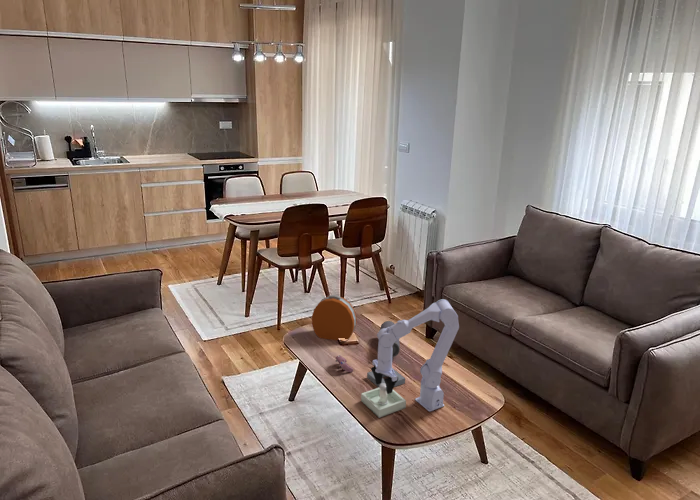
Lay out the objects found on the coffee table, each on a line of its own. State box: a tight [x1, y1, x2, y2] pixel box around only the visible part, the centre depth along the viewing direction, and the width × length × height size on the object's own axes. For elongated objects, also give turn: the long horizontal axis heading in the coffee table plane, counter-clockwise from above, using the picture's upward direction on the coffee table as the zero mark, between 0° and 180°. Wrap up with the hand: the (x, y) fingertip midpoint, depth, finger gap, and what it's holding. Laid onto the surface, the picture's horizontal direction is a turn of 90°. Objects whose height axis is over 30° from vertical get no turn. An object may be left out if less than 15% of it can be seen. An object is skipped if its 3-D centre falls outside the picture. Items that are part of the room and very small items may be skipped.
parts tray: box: [360, 387, 407, 419], centre depth 203 cm, size 13×13×4 cm
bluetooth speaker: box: [379, 320, 401, 358], centre depth 246 cm, size 23×9×10 cm, turn 179°
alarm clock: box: [311, 294, 358, 341], centre depth 257 cm, size 22×10×23 cm, turn 74°
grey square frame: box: [366, 368, 406, 388], centre depth 220 cm, size 12×12×2 cm
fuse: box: [379, 383, 388, 405], centre depth 202 cm, size 4×4×8 cm
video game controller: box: [335, 354, 354, 373], centre depth 229 cm, size 10×5×7 cm, turn 21°
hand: (384, 388), depth 201 cm, fingers open, 7 cm apart
